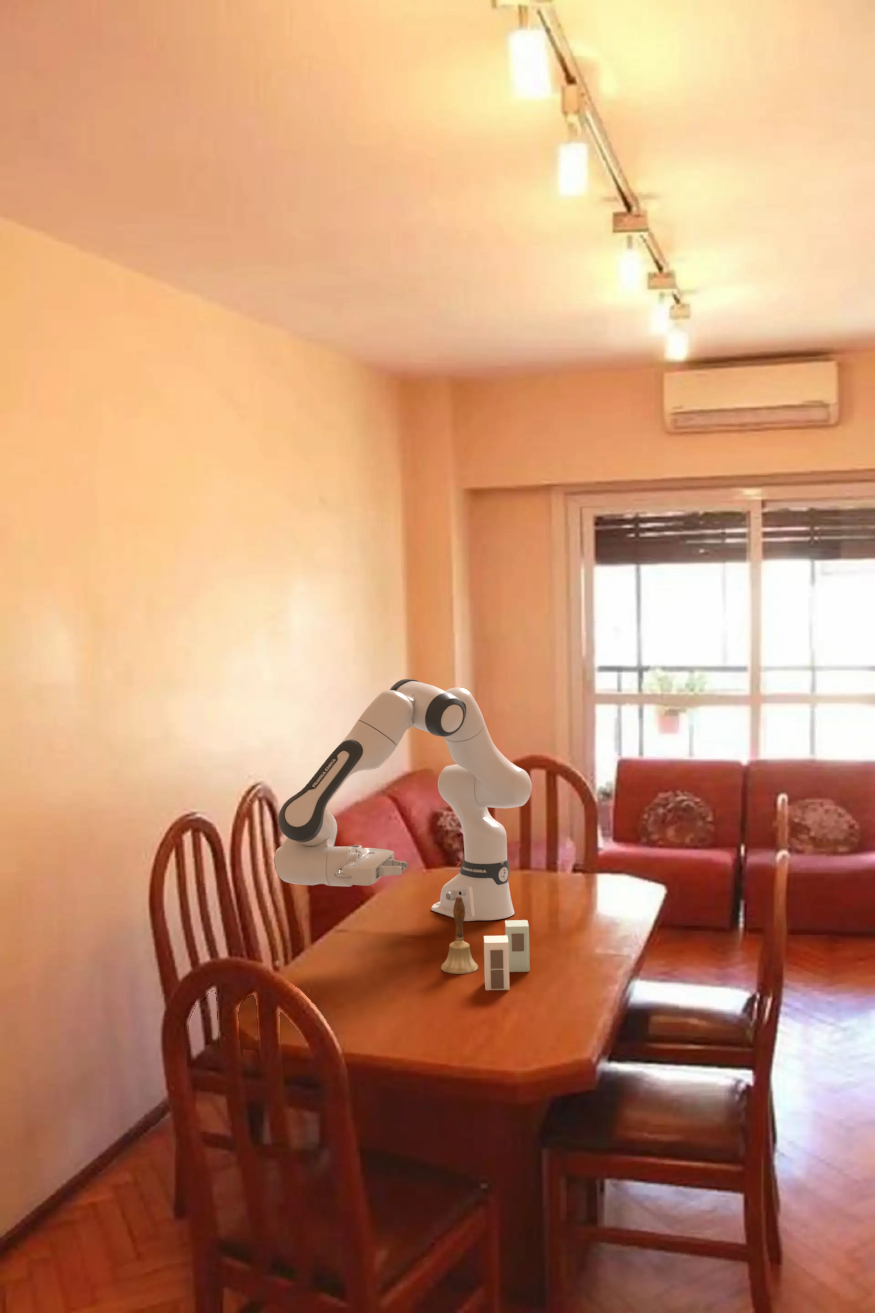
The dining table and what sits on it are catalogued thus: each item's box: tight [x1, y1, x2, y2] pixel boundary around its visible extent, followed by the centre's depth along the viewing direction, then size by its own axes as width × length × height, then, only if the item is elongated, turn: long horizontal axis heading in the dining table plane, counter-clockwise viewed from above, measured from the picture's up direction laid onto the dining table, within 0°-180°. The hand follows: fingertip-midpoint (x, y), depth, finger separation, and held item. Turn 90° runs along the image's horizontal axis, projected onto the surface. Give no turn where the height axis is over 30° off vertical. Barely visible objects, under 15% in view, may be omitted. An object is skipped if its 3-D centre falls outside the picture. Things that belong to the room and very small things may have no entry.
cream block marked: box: [483, 934, 511, 991], centre depth 240 cm, size 5×5×10 cm
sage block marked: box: [504, 919, 531, 973], centre depth 251 cm, size 5×5×10 cm
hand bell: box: [440, 897, 479, 975], centre depth 252 cm, size 8×8×16 cm
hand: (404, 868), depth 254 cm, fingers open, 3 cm apart
